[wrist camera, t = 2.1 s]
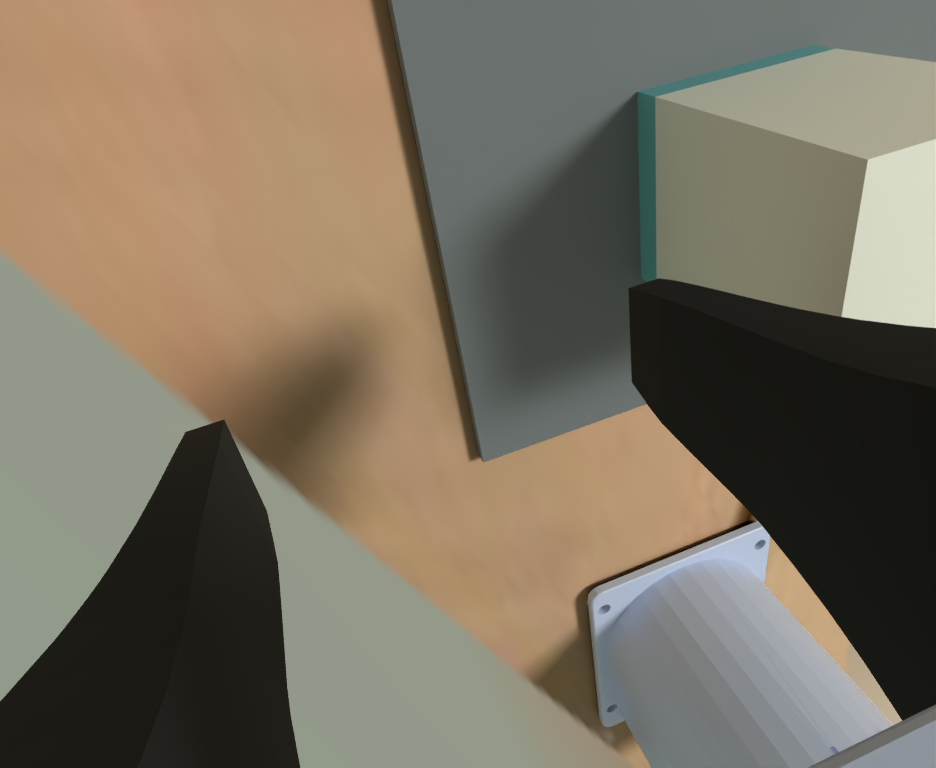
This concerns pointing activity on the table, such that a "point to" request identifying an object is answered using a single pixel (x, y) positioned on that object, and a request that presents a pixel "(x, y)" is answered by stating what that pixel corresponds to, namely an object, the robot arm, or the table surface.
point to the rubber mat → (572, 172)
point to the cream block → (796, 183)
